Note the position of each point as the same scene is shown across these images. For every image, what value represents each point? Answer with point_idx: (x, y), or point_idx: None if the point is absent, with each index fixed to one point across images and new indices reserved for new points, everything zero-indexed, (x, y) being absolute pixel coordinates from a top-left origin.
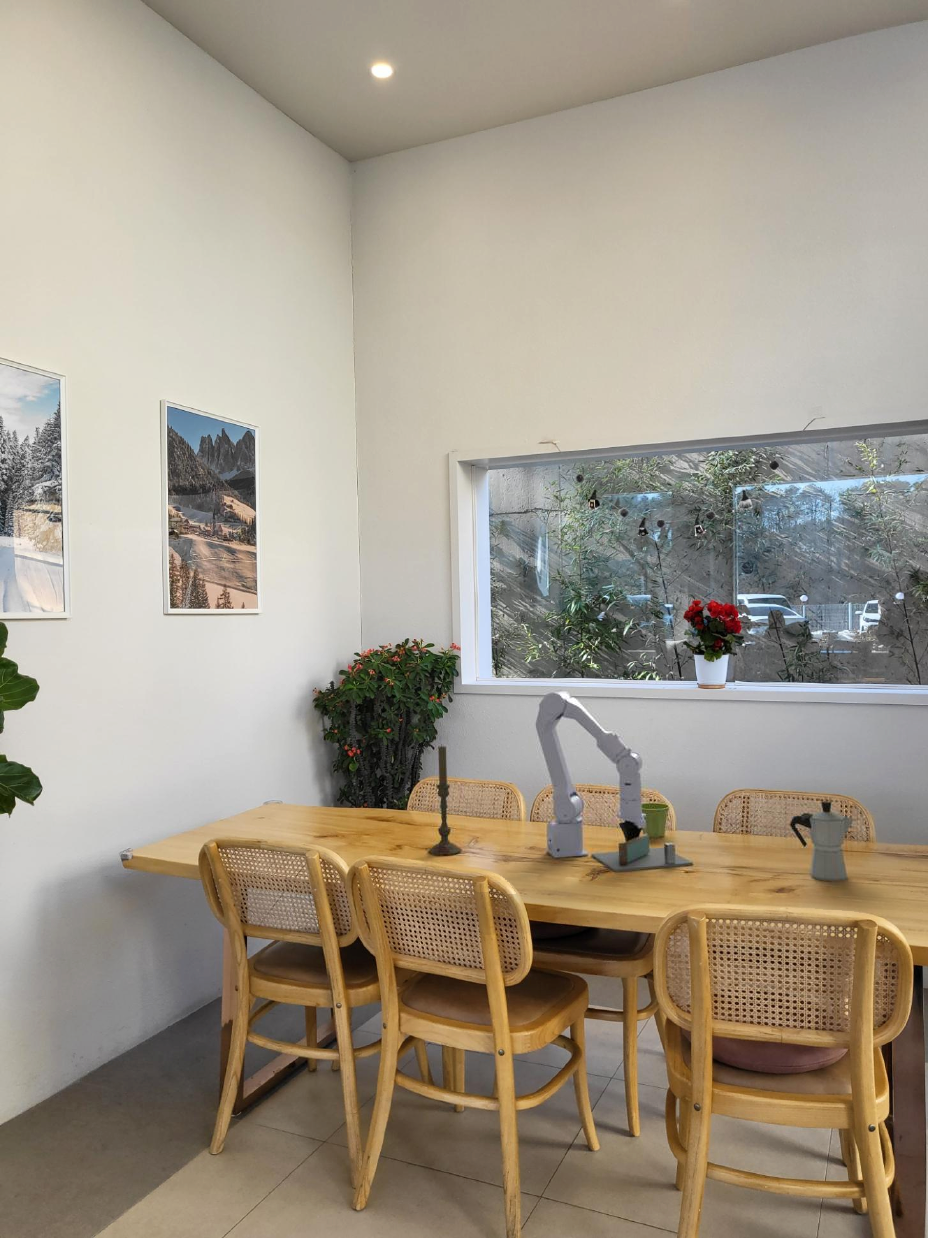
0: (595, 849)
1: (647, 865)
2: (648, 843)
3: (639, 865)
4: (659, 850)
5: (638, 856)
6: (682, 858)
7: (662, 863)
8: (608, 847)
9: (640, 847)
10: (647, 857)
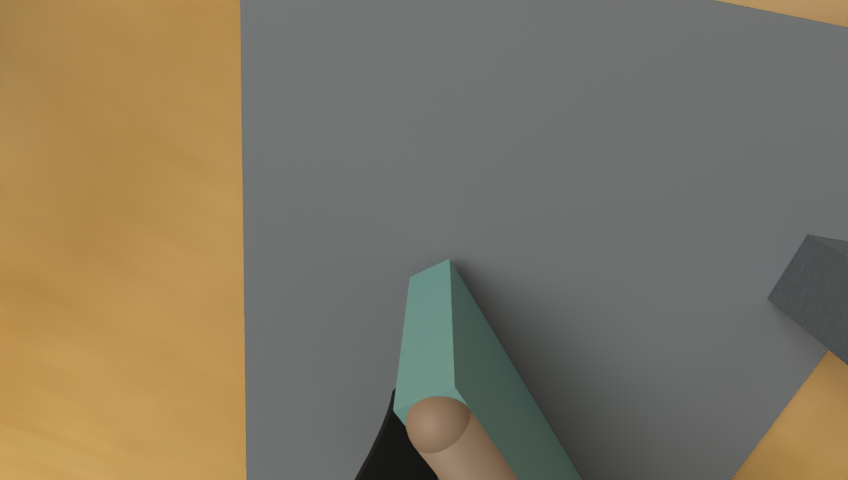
0: (77, 434)
1: (726, 441)
2: (460, 331)
3: (681, 473)
4: (361, 68)
5: (545, 421)
6: (821, 53)
7: (778, 333)
8: (25, 344)
9: (543, 457)
10: (536, 325)
